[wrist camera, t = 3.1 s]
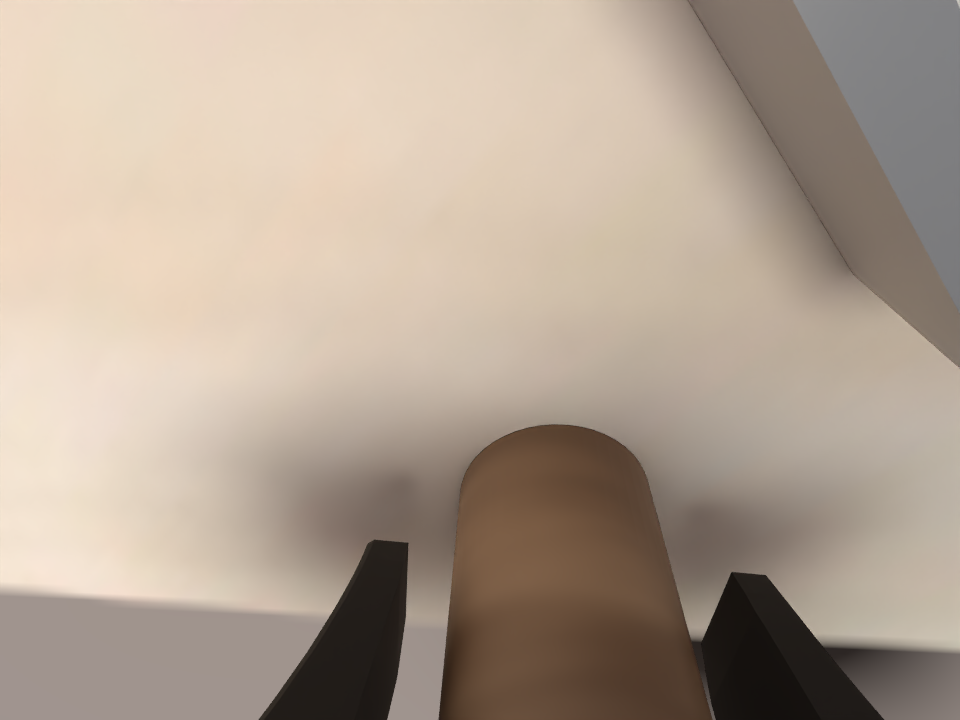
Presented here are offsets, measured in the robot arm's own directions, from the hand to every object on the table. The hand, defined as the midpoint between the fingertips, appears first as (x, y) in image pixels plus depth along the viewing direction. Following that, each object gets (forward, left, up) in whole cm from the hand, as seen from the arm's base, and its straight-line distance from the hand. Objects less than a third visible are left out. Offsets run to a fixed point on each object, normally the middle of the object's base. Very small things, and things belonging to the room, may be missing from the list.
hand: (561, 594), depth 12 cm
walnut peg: (0, 0, -2) cm, 2 cm away
